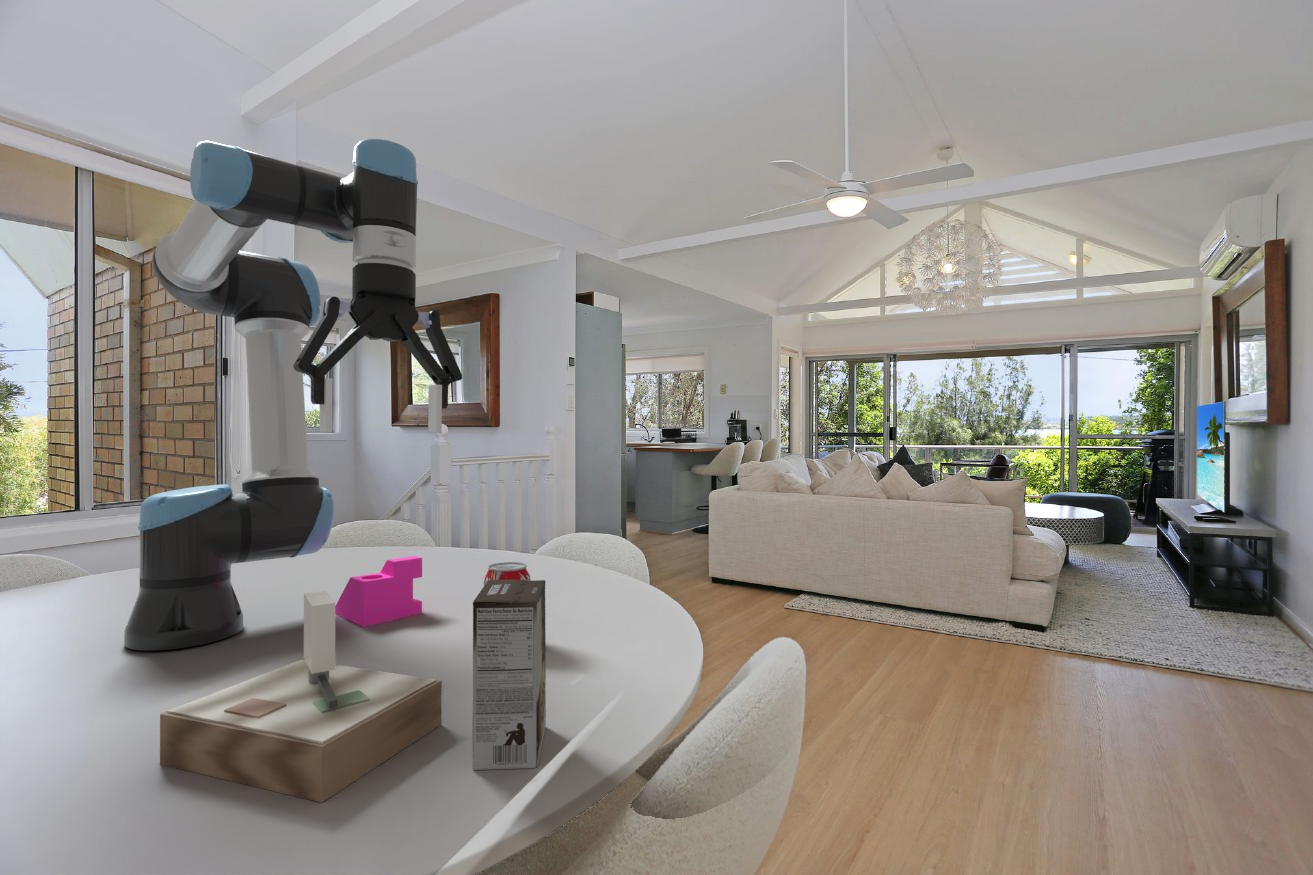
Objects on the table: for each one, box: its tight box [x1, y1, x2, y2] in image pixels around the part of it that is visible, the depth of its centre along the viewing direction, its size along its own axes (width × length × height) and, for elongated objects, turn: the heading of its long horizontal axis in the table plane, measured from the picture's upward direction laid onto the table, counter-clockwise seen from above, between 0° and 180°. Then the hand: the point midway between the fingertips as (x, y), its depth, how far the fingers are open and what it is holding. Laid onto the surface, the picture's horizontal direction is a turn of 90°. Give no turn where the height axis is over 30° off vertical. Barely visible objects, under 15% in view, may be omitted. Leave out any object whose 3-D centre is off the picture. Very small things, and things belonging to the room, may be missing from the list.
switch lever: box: [303, 590, 337, 708], centre depth 67 cm, size 2×13×9 cm, turn 35°
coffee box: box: [472, 579, 547, 771], centre depth 65 cm, size 9×6×16 cm
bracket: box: [335, 555, 423, 628], centre depth 114 cm, size 12×10×10 cm
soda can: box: [483, 561, 532, 586], centre depth 98 cm, size 7×7×12 cm
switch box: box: [159, 659, 443, 804], centre depth 66 cm, size 20×16×5 cm
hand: (383, 432), depth 83 cm, fingers open, 13 cm apart
